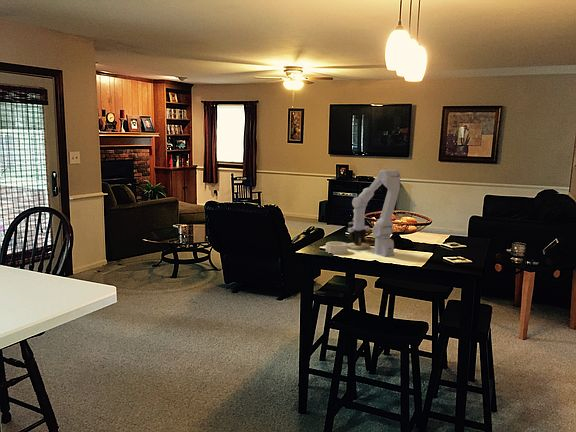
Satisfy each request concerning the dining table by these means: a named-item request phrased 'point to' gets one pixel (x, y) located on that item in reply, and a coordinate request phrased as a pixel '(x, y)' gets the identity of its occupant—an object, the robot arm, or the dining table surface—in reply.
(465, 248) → the dining table surface
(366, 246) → the lid
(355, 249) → the mat
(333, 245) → the bowl
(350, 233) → the coffee mug
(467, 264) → the dining table surface
